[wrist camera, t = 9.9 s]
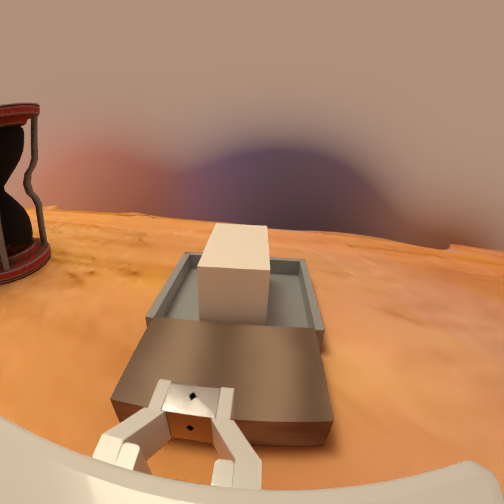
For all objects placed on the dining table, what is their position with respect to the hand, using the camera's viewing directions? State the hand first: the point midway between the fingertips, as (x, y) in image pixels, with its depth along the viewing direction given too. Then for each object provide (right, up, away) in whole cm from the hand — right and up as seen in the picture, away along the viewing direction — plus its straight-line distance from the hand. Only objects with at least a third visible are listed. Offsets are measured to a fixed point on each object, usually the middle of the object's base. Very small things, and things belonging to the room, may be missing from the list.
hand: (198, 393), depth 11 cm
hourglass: (-38, +3, +27) cm, 47 cm away
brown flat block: (0, -5, +11) cm, 12 cm away
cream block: (0, +1, +15) cm, 15 cm away
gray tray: (+1, 0, +23) cm, 23 cm away
